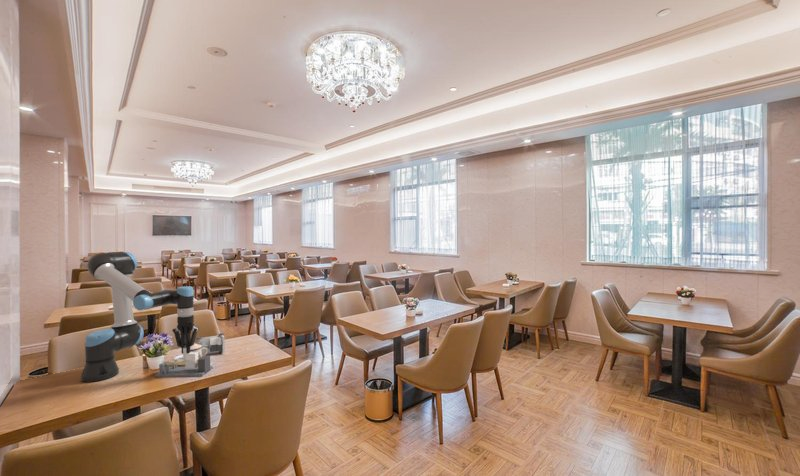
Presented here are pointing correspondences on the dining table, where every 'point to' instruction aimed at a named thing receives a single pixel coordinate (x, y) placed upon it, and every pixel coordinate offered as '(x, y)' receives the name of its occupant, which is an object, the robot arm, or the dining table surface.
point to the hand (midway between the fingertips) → (186, 359)
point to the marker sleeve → (191, 360)
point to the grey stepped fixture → (182, 371)
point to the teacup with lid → (197, 350)
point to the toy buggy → (212, 344)
